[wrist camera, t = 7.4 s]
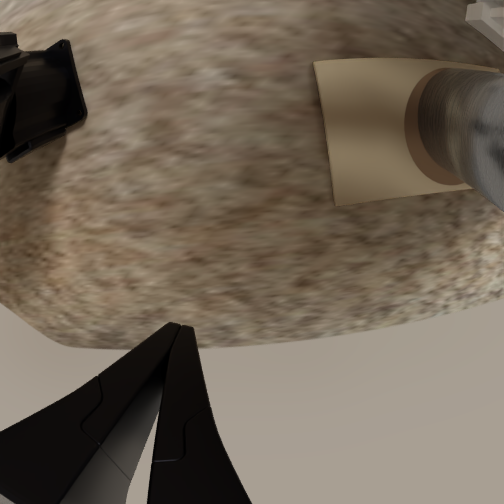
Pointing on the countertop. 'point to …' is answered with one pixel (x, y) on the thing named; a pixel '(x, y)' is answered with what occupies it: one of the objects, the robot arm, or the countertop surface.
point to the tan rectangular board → (380, 128)
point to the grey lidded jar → (466, 127)
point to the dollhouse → (488, 19)
